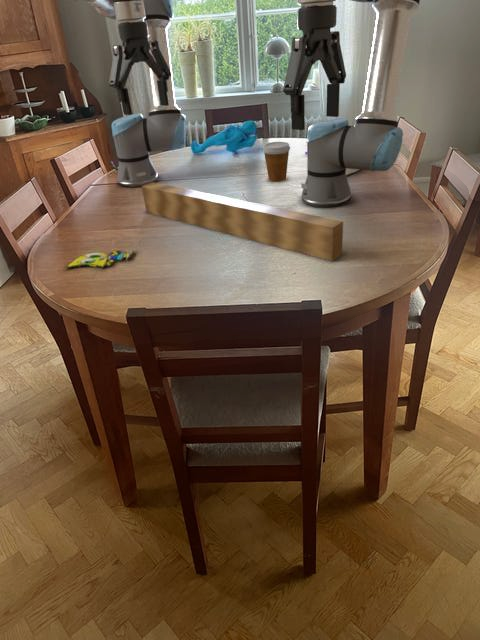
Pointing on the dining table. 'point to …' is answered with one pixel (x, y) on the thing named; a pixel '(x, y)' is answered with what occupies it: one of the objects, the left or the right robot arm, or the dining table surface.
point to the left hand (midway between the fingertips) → (146, 109)
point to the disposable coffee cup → (276, 160)
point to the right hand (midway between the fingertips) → (315, 122)
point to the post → (247, 220)
